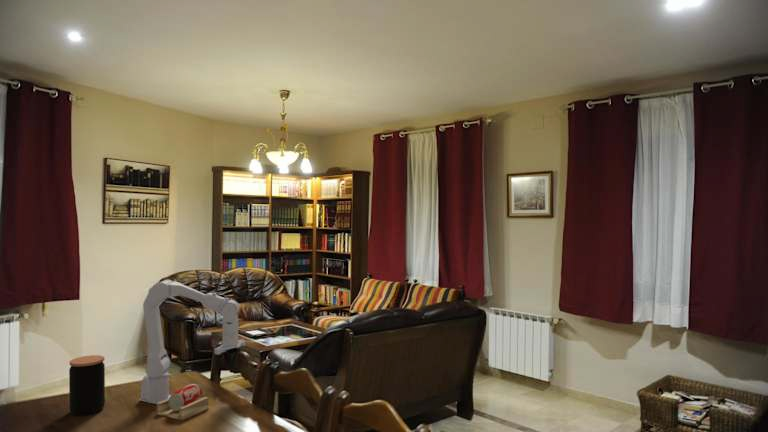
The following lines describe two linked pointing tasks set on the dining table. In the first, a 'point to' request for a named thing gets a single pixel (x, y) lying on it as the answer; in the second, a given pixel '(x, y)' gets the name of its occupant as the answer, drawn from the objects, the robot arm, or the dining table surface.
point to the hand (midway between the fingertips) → (230, 368)
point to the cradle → (182, 409)
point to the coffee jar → (87, 385)
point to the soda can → (184, 396)
